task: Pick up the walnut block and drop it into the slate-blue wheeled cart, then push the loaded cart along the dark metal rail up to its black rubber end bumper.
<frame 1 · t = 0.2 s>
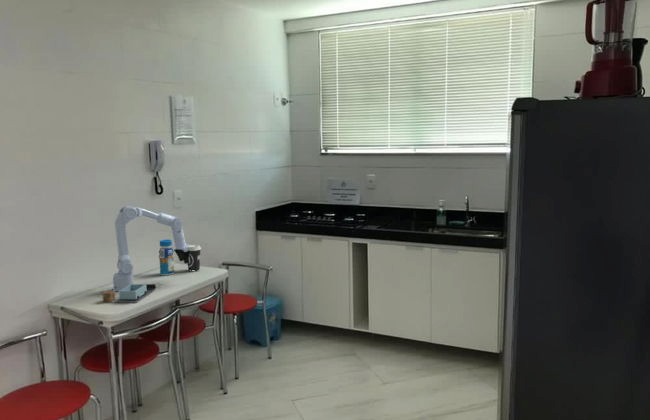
hand: (184, 261, 287), 10 cm above the table, tool pointing down, fingers open, 7 cm apart
cart: (133, 291, 255), point 3 cm above the table, slide at 0.0 cm
coffee cup: (194, 270, 311), on the table
beverage bottle: (167, 274, 303), on the table
rail: (137, 296, 259), on the table
walnut block: (109, 301, 251), on the table
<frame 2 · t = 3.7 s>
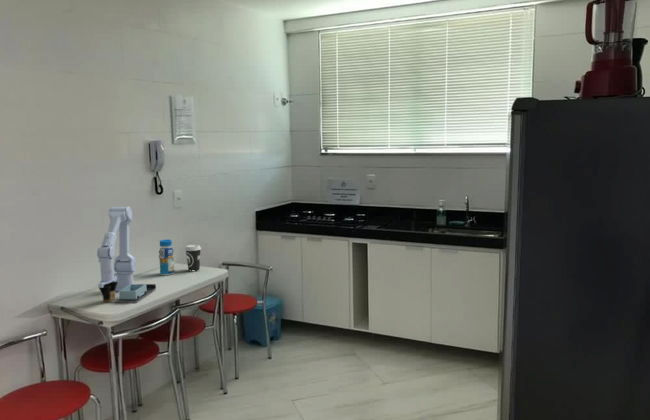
hand: (109, 298, 251), 1 cm above the table, tool pointing down, fingers closed on walnut block, 4 cm apart
walnut block: (109, 301, 251), on the table, touching gripper
everything else where it was.
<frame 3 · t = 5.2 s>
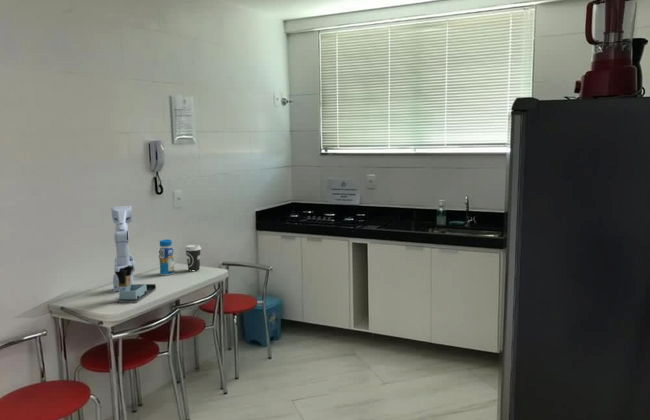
hand: (124, 282, 253), 8 cm above the table, tool pointing down, fingers closed on walnut block, 4 cm apart
walnut block: (124, 285, 253), point 7 cm above the table, touching gripper
everything else where it was.
when the fingers open (5 cm above the table, at t = 6.6 s): walnut block drops 1 cm, resting on cart.
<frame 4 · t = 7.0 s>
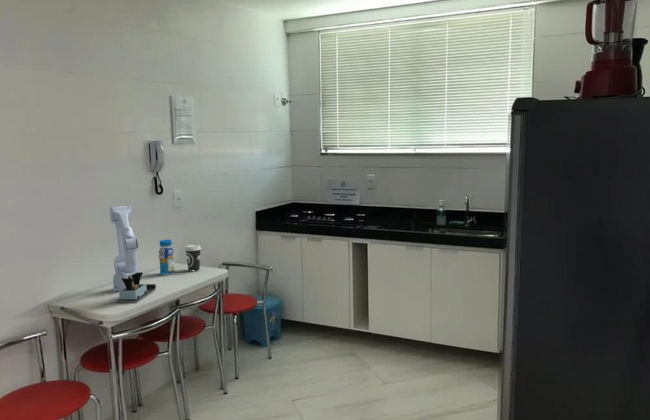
hand: (133, 289, 255), 5 cm above the table, tool pointing down, fingers open, 7 cm apart
cart: (133, 291, 255), point 3 cm above the table, slide at 0.0 cm, touching walnut block
walnut block: (133, 294, 255), point 2 cm above the table, touching cart
everything else where it was.
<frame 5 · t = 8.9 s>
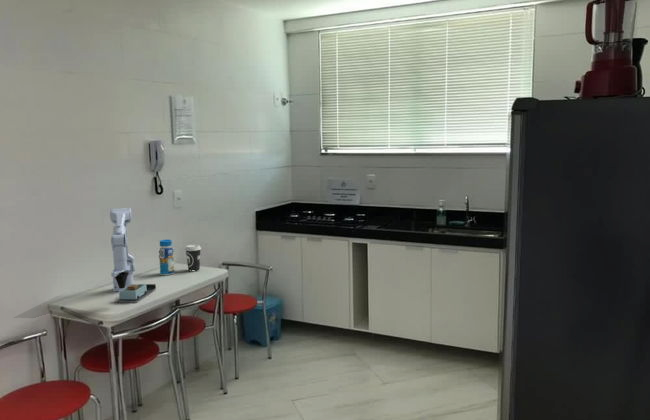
hand: (122, 287, 243), 8 cm above the table, tool pointing down, fingers closed
nothing on the table moved.
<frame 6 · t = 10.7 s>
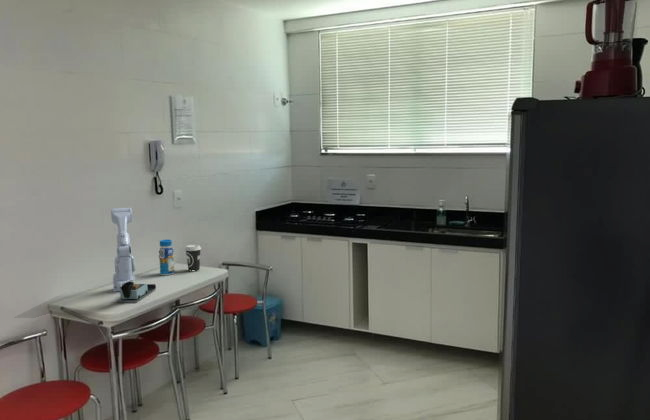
hand: (127, 297, 249), 2 cm above the table, tool pointing down, fingers closed
cart: (134, 291, 256), point 3 cm above the table, slide at 1.1 cm, touching gripper, walnut block
walnut block: (134, 293, 256), point 2 cm above the table, touching cart
everything else where it was.
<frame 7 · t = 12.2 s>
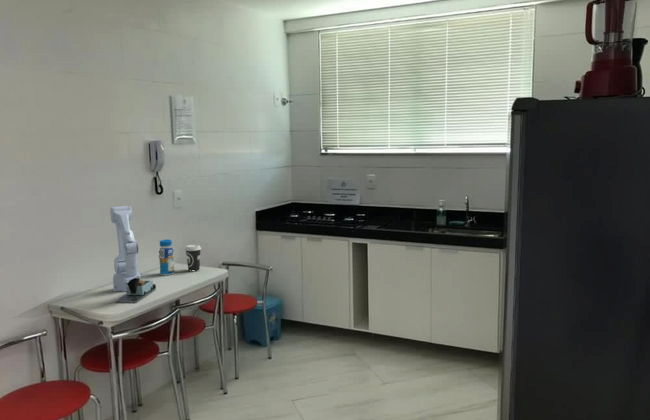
hand: (133, 293, 255), 2 cm above the table, tool pointing down, fingers closed
cart: (140, 287, 262), point 3 cm above the table, slide at 7.5 cm, touching gripper, walnut block
walnut block: (139, 290, 263), point 2 cm above the table, touching cart
everything else where it was.
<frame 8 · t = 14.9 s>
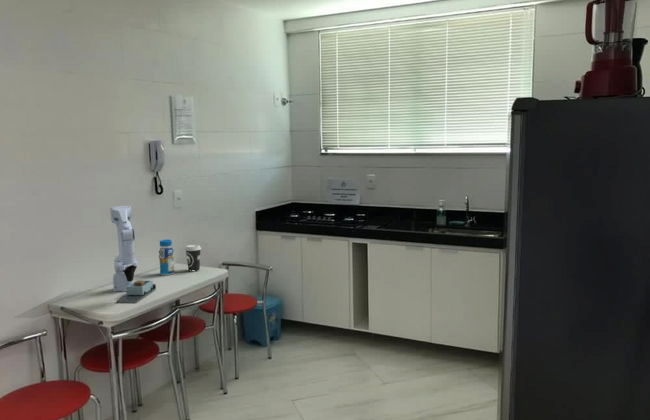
hand: (130, 281, 252), 9 cm above the table, tool pointing down, fingers closed
cart: (139, 287, 262), point 3 cm above the table, slide at 7.5 cm, touching walnut block
everything else where it was.
at the end: cart slide at 7.5 cm; walnut block inside the target area on the cart (0.1 cm from its centre), point 1.9 cm above the cart's base; walnut block tilted 0° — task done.
